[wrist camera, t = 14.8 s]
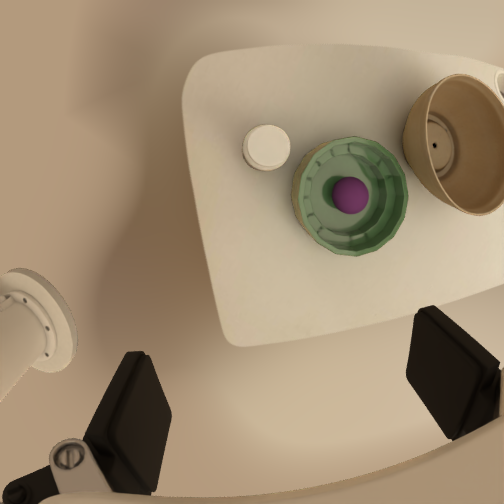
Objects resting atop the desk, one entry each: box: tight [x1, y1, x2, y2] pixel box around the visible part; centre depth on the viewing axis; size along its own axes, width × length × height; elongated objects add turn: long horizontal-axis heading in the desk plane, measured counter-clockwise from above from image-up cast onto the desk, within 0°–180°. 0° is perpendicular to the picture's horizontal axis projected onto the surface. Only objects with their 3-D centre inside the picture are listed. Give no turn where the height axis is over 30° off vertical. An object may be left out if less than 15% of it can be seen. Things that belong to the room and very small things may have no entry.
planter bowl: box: [403, 74, 504, 216], centre depth 29 cm, size 16×16×11 cm
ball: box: [332, 177, 369, 214], centre depth 34 cm, size 4×4×4 cm
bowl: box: [291, 136, 408, 256], centre depth 34 cm, size 13×13×5 cm
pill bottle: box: [242, 125, 290, 171], centre depth 30 cm, size 5×5×8 cm
